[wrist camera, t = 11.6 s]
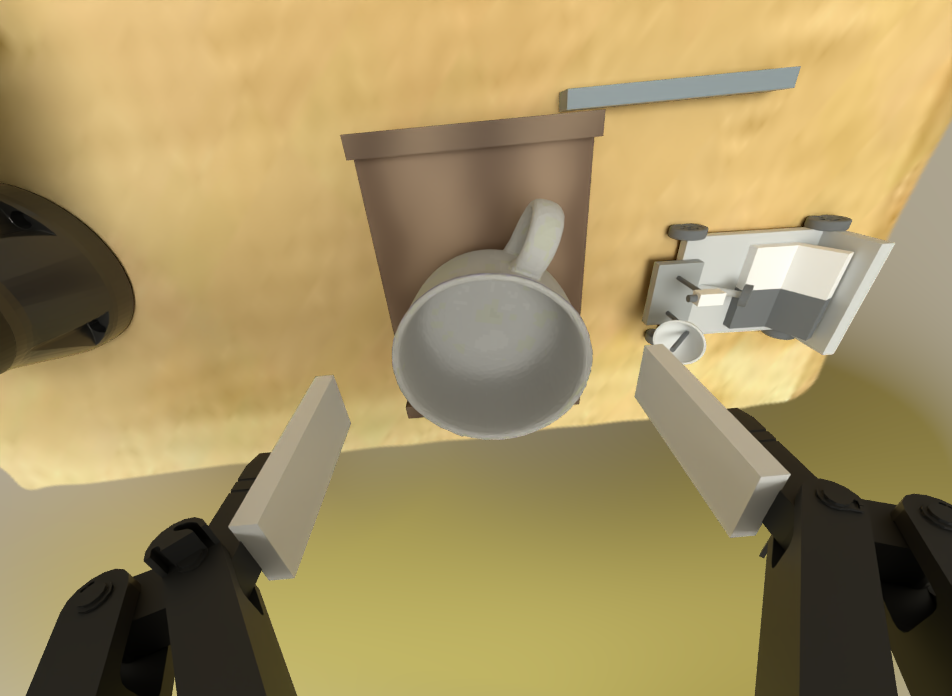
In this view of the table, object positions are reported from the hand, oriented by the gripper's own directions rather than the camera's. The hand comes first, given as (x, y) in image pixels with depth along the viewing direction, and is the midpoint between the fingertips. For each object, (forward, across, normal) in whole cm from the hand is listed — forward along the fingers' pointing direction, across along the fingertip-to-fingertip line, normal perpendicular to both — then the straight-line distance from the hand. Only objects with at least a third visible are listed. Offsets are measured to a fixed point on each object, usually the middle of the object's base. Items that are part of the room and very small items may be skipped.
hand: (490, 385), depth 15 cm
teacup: (+12, -1, 0) cm, 12 cm away
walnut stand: (+20, -1, 0) cm, 20 cm away
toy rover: (+21, -24, +5) cm, 32 cm away
